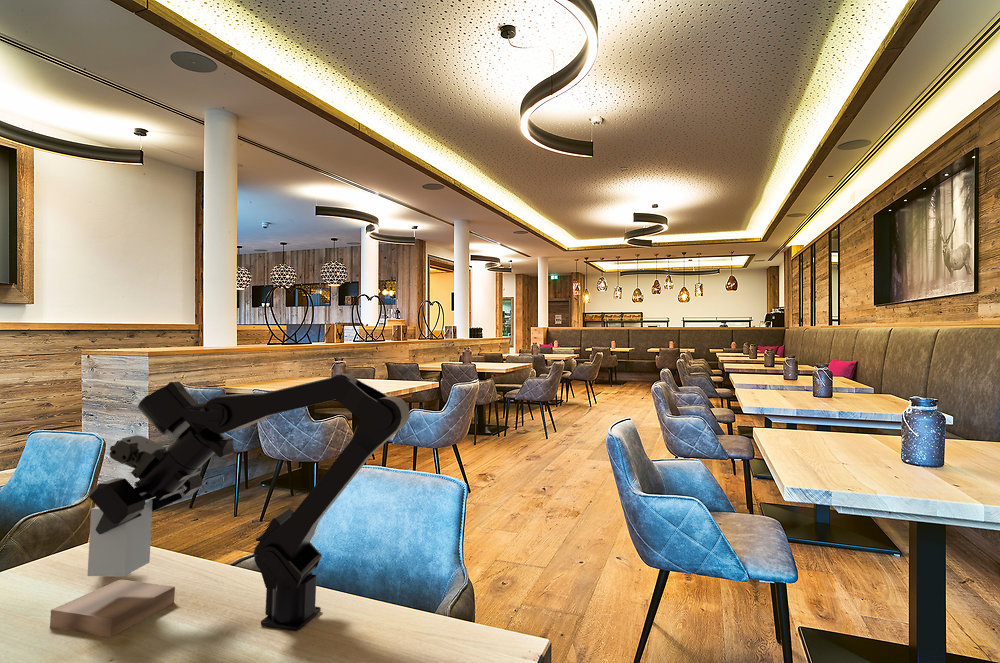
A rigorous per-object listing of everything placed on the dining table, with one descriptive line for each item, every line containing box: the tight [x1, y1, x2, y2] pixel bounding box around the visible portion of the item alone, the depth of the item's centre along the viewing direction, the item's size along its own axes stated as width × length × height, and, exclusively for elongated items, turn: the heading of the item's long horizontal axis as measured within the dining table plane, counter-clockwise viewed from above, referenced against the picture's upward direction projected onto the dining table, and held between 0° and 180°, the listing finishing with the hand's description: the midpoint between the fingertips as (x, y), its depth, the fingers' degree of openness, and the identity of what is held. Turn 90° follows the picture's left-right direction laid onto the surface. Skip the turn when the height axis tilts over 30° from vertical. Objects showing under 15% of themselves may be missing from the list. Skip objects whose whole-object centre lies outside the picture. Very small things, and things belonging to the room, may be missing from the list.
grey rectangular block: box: [87, 500, 153, 578], centre depth 82 cm, size 6×6×11 cm
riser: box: [49, 579, 176, 638], centre depth 81 cm, size 11×11×3 cm
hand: (113, 525), depth 82 cm, fingers closed on grey rectangular block, 6 cm apart
